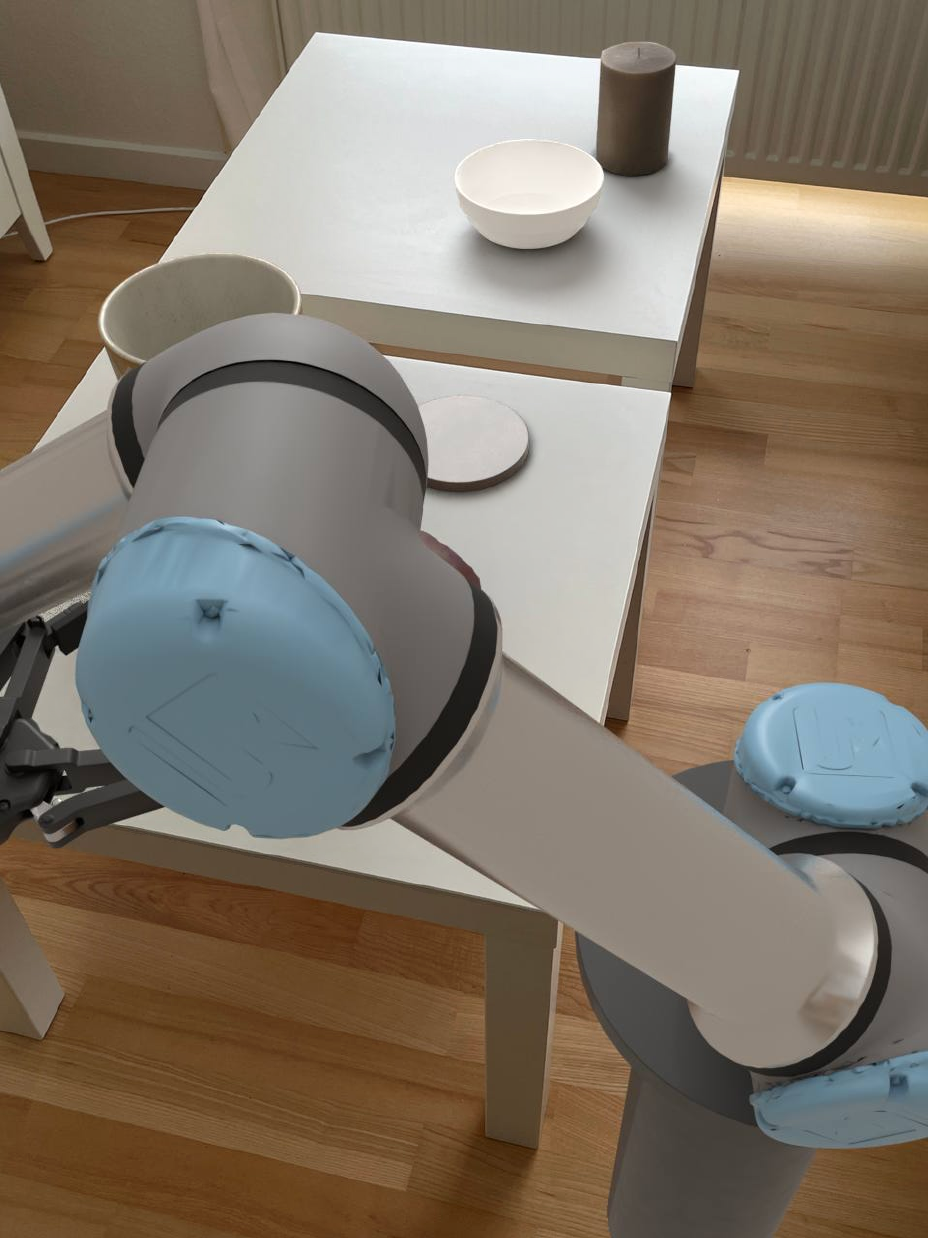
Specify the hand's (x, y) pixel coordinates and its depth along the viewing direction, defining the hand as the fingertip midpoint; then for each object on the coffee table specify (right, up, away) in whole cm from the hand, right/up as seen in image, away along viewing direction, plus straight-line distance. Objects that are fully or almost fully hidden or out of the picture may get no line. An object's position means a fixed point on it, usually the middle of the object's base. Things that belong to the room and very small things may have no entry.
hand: (191, 637), depth 88 cm
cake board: (+19, +19, +41) cm, 49 cm away
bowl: (+27, +50, +69) cm, 90 cm away
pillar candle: (+42, +63, +80) cm, 111 cm away
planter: (-5, +20, +43) cm, 47 cm away
